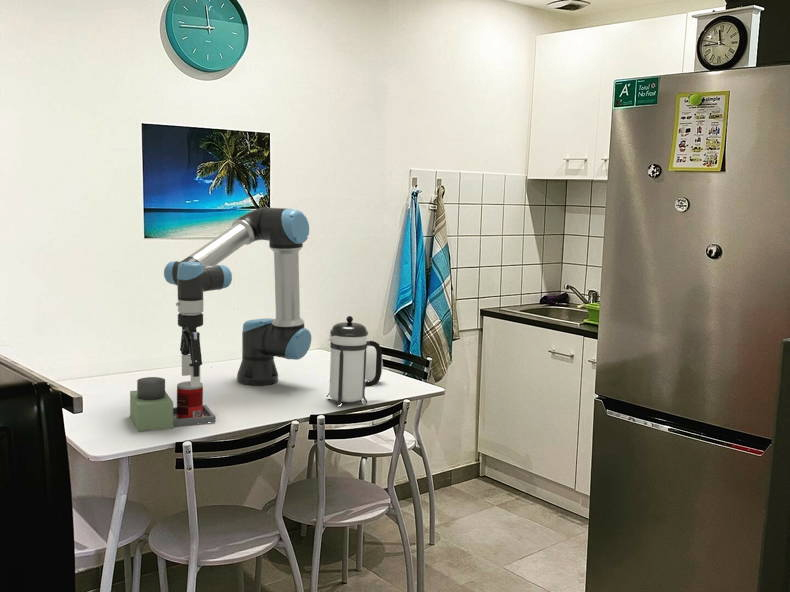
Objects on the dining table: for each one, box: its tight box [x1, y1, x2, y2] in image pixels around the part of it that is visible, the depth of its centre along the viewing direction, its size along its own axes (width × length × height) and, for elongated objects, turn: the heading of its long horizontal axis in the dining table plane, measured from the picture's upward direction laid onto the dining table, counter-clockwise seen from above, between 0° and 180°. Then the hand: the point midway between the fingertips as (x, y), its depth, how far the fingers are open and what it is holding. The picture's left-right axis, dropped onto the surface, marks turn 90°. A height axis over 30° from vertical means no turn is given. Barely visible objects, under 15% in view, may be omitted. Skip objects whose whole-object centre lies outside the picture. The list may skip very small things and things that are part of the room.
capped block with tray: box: [129, 376, 217, 432], centre depth 236 cm, size 23×16×13 cm
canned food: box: [176, 380, 204, 419], centre depth 238 cm, size 8×8×11 cm
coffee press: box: [325, 315, 383, 406], centre depth 264 cm, size 17×16×30 cm
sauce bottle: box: [365, 336, 384, 382], centre depth 291 cm, size 8×8×18 cm
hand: (190, 380), depth 238 cm, fingers open, 13 cm apart
